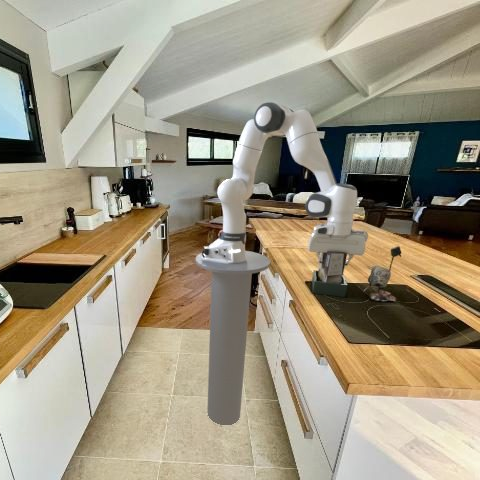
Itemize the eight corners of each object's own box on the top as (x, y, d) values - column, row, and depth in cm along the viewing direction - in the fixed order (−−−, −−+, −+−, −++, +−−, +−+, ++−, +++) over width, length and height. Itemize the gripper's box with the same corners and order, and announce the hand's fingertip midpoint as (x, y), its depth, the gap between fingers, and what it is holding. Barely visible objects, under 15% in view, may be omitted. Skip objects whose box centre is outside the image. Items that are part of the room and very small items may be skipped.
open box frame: (312, 293, 123) (314, 281, 121) (311, 281, 135) (313, 270, 134) (344, 297, 119) (347, 285, 117) (340, 284, 132) (343, 273, 130)
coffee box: (340, 292, 123) (348, 253, 117) (324, 292, 123) (331, 253, 117) (330, 284, 132) (337, 247, 126) (315, 284, 132) (321, 247, 126)
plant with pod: (362, 291, 124) (374, 242, 117) (396, 297, 119) (409, 246, 112) (361, 298, 118) (373, 247, 110) (396, 305, 113) (411, 251, 105)
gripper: (367, 229, 118) (360, 264, 123) (310, 226, 124) (305, 259, 129) (370, 232, 112) (363, 268, 117) (310, 229, 118) (306, 263, 123)
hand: (332, 263), depth 123 cm, fingers open, 8 cm apart
